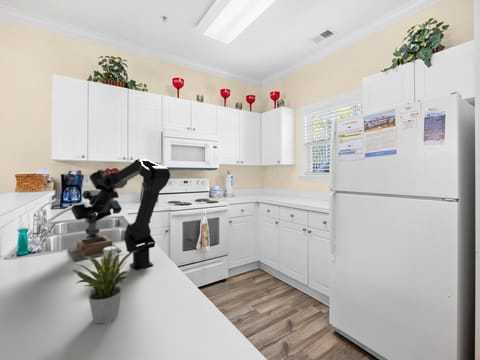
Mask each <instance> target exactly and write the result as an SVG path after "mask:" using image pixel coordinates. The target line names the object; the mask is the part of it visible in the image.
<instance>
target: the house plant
mask: <svg viewBox="0 0 480 360" xmlns="http://www.w3.org/2000/svg"><path fill="white" fill-rule="evenodd" d="M112 250H113V249H111V250H110V251H109V253H108V256H107V259H106V256H105V255H104V254H103V256H104V268H105V272H104V271H103V269H102V267H101V264H100V262H99V261H98V260H97V259H96V258H91V257H88V256H84V257H87V258H88V259H87V260H89V261H90V262H91V263H93V265H94V267H95V269H96V271H95V270H94V271H93V270H91V269H89V268H88V267H87V266H84V265H82V264H78V263H74V265H75V266H76V265H77V266H78V267H81V268H83V269H85V270H86V272H89V273H90V275H88V274H86V273H84V272H82V271H81V270H76V269H72V272H74V273H75V274H76V275H77V276H78V277H79V278H80V279H81V280H78V281H77V282H76V283H75V285H76V284H79V283H86V285H85V284H84V287H93V289H92V290H91V291H90V293H89V294H88V303H89V306H90V309H91V315H92V319H93V322H94V323H95V324H96V323H105V324H107V323H106V322H108V323H110V322H109V321H111V322H113V321H114V320H115V319H117V318H118V316H119V311H120V303H121V297H122V287H121V286H119V285H117V284H119V283H120V284H121V285H123V282H124V280H126V279H127V278H129V276H127V275H125V274H128V273H130V274H131V272H130V271H127V270H123V271H121V269H122V268H123V267H124V266H125V264H126V263H127V261H126V259H127V258H129V257H130V256H131V255H133V253H134V252H136V251H133V252H131V253H129V252H128V254H125V256H124V257H122V259H121V260H120V261H119V265H118V267H117V269H116V271H115V273H114V269H115V265H116V261H117V259H118V257H119V258H120V256H123V255H124V253H122V254H119V253H118V255H119V256H118V255H116V257H115V259H114V262H113V265H111V266H110V261H111V257H112ZM137 251H138V250H137ZM125 261H126V262H125ZM120 271H121V272H120ZM118 272H119V275H118V276H117V277H116V275H117V274H118ZM91 275H92V276H93V277H94V278H93V277H92V276H91ZM114 318H115V319H114ZM113 319H114V320H113Z"/></svg>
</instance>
